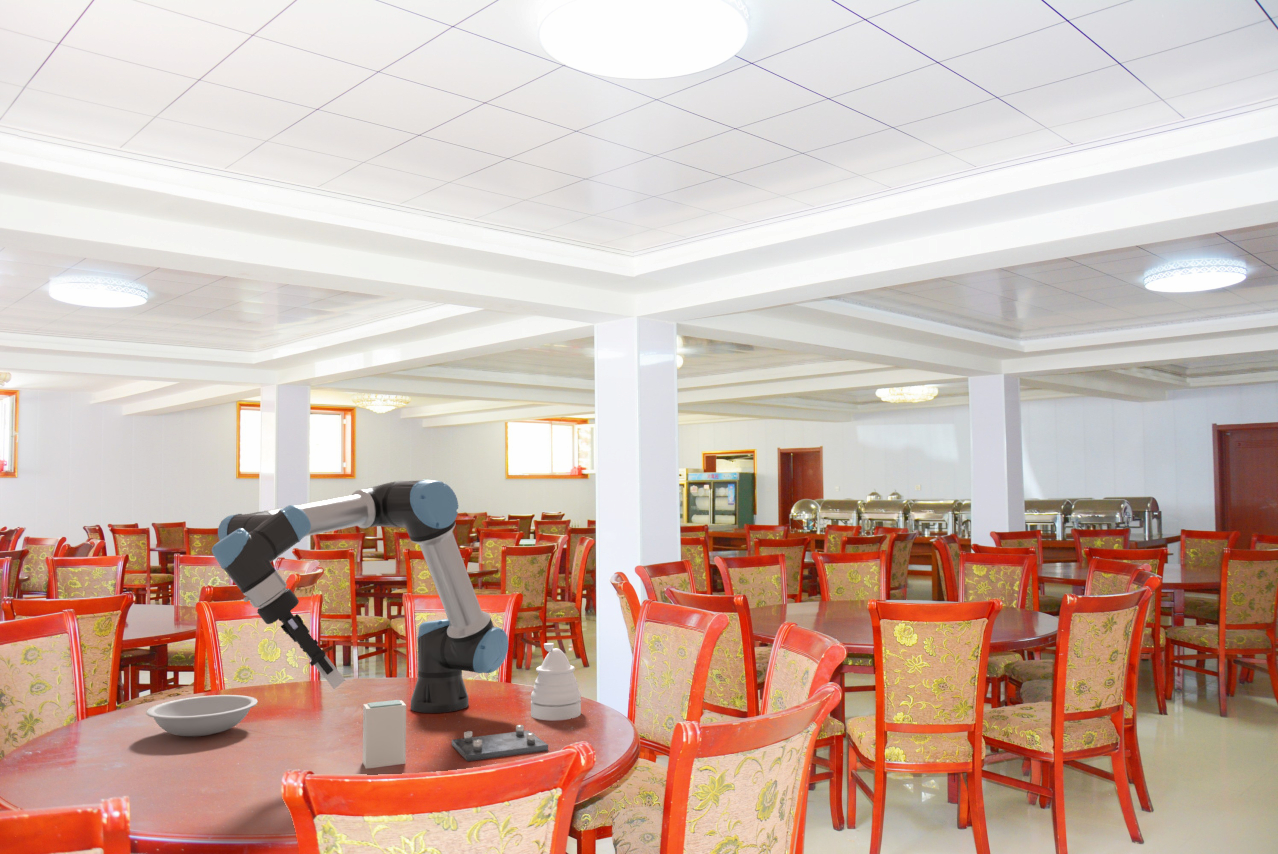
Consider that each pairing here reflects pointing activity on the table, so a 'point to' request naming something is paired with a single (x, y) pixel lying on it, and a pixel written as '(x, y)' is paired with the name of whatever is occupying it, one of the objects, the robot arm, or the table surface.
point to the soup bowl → (201, 714)
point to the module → (384, 733)
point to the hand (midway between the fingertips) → (334, 679)
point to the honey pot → (555, 688)
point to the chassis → (498, 744)
